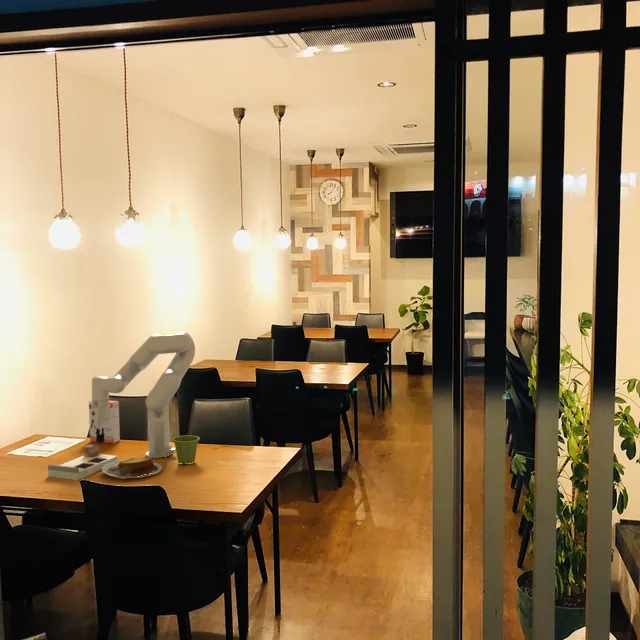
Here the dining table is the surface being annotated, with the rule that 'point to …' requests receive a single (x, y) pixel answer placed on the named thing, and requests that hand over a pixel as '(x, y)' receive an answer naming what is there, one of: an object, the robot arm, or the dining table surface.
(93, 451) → the walnut block
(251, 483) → the dining table surface
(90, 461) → the box
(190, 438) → the plant pot
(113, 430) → the cracker box
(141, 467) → the food on plate
